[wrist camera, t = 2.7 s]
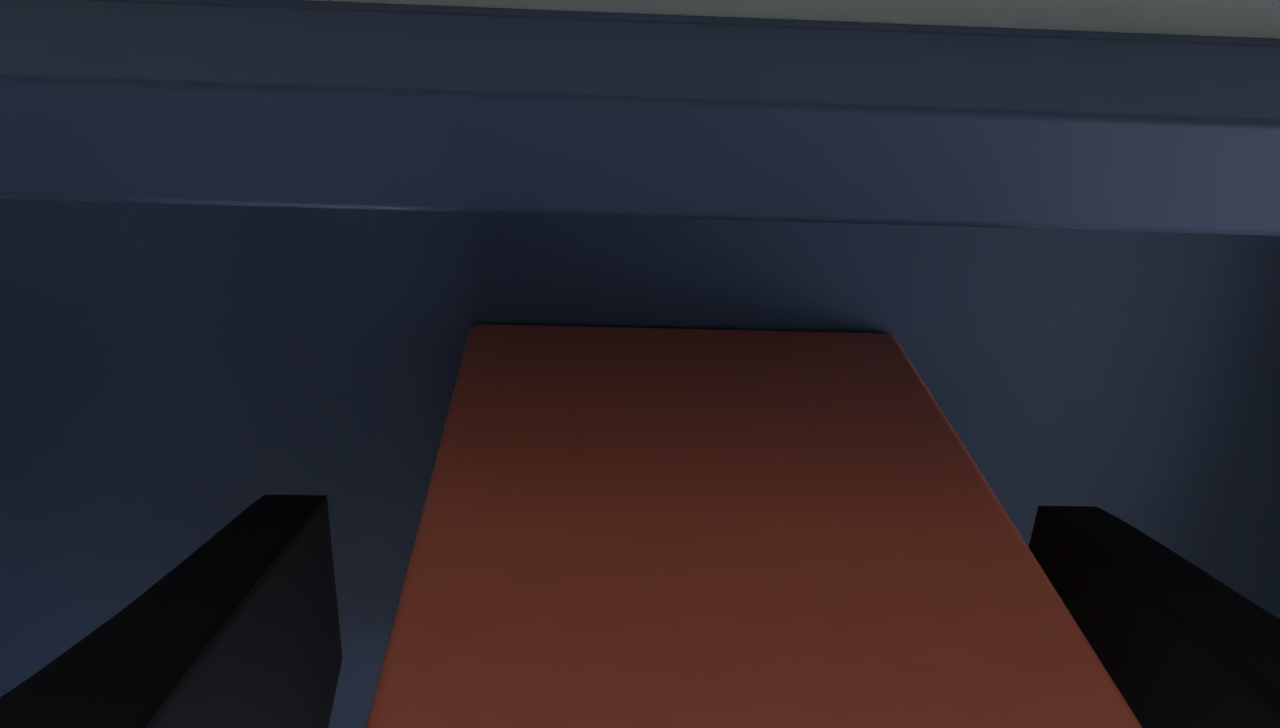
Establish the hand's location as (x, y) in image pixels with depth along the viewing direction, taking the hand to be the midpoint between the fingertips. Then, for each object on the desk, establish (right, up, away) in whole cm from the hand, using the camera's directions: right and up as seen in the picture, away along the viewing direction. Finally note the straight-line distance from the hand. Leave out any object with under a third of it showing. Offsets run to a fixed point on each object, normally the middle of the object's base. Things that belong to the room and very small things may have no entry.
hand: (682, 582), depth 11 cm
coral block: (0, +1, +1) cm, 1 cm away
